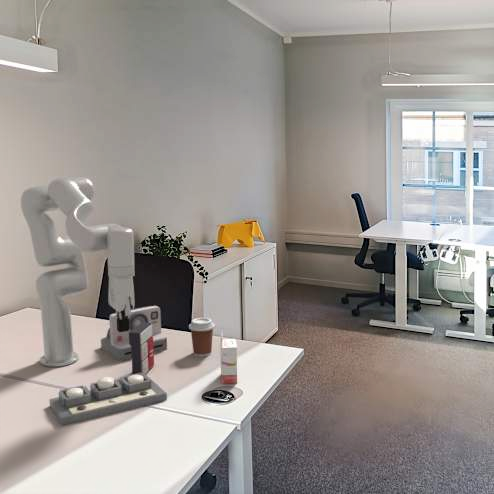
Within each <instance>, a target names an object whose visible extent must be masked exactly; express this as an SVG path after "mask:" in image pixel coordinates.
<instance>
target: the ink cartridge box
mask: <svg viewBox="0 0 494 494" xmlns="http://www.w3.org/2000/svg"><path fill="white" fill-rule="evenodd" d="M220 375H221V382H222V384H223V385H224V384H237V383H238V345H237V341H236V338H224V337H223V330H221V334H220Z"/></svg>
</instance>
